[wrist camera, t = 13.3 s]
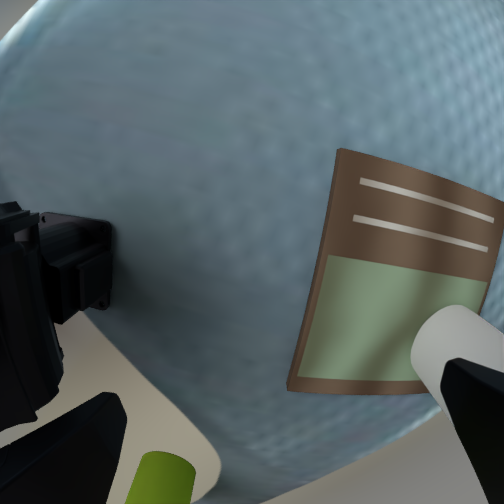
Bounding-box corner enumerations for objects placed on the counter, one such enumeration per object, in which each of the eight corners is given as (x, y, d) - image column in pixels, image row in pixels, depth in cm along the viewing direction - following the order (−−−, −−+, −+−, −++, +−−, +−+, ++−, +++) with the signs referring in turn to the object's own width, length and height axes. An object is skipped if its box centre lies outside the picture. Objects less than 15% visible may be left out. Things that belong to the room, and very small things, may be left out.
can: (435, 291, 19) (549, 379, 7) (483, 314, 19) (577, 388, 7) (393, 366, 20) (464, 483, 8) (445, 379, 20) (514, 470, 9)
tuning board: (286, 383, 22) (287, 391, 21) (337, 149, 18) (341, 147, 17) (440, 385, 22) (445, 392, 21) (500, 202, 18) (508, 204, 17)
